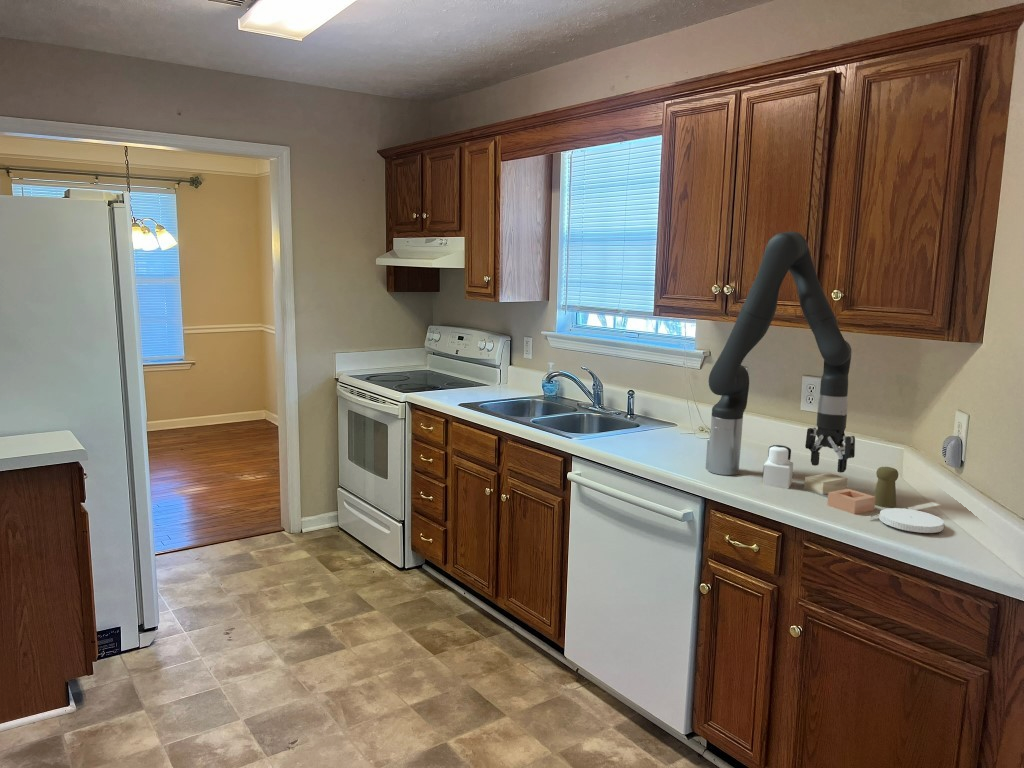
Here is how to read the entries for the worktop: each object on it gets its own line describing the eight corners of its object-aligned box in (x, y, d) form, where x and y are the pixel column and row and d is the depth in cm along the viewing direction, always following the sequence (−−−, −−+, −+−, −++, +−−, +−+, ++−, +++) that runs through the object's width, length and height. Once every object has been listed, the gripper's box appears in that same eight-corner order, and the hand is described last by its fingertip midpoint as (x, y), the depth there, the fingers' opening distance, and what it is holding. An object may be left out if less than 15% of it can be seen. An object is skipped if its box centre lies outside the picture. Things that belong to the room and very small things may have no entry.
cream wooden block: (804, 488, 210) (805, 476, 210) (827, 484, 215) (828, 472, 214) (822, 494, 205) (823, 482, 204) (846, 490, 210) (847, 478, 209)
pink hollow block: (826, 508, 196) (828, 492, 195) (846, 504, 200) (848, 488, 199) (853, 517, 189) (855, 500, 188) (873, 513, 193) (875, 496, 192)
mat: (792, 489, 212) (793, 486, 212) (821, 484, 218) (821, 481, 218) (828, 501, 202) (829, 498, 202) (857, 496, 208) (857, 492, 208)
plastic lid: (882, 532, 180) (884, 521, 179) (875, 514, 193) (876, 505, 193) (948, 540, 175) (950, 530, 175) (936, 522, 188) (937, 512, 188)
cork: (888, 504, 201) (893, 464, 199) (901, 511, 195) (905, 470, 193) (866, 504, 201) (870, 464, 199) (878, 511, 195) (882, 470, 193)
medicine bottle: (765, 482, 220) (769, 442, 218) (791, 486, 216) (795, 445, 215) (761, 488, 213) (765, 447, 212) (788, 492, 210) (791, 450, 208)
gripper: (801, 408, 211) (797, 464, 213) (845, 416, 198) (840, 476, 200) (819, 406, 214) (815, 461, 216) (864, 414, 202) (859, 473, 204)
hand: (827, 468), depth 208 cm, fingers open, 8 cm apart
